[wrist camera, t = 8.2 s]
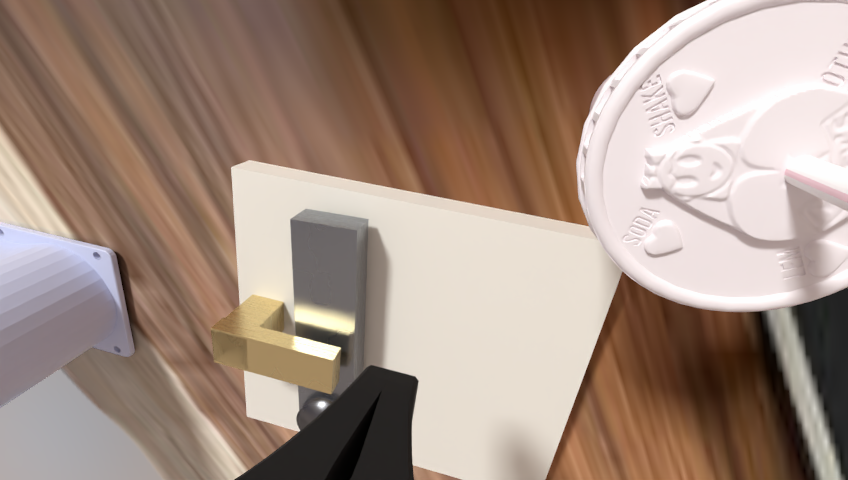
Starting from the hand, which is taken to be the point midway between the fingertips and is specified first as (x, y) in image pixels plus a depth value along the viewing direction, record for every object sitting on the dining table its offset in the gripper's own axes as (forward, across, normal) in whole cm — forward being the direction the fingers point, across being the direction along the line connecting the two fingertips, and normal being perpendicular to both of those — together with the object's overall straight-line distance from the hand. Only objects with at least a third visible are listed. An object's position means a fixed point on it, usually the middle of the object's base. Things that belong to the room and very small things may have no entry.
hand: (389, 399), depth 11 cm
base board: (+10, +2, +6) cm, 12 cm away
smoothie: (+10, -6, -7) cm, 14 cm away
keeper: (+9, +7, +5) cm, 12 cm away
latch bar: (+8, +5, +5) cm, 11 cm away
